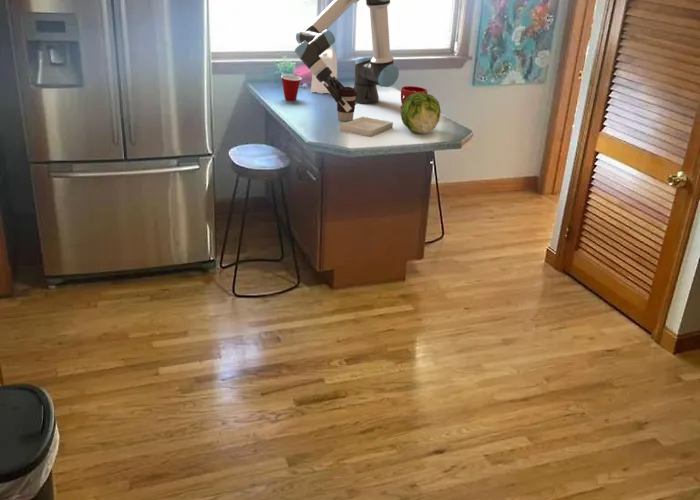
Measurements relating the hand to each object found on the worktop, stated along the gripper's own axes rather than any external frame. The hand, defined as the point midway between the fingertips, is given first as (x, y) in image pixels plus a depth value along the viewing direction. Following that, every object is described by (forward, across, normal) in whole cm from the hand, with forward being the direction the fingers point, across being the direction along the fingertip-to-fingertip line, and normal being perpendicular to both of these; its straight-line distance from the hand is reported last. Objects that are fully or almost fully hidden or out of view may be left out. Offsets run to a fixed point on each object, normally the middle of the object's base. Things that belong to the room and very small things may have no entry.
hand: (352, 107), depth 344 cm
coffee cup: (+2, 0, -6) cm, 7 cm away
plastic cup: (-24, -30, -32) cm, 50 cm away
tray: (+12, +14, +3) cm, 18 cm away
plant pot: (+22, -30, +13) cm, 39 cm away
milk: (-16, -58, -25) cm, 65 cm away
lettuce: (+29, +8, +20) cm, 36 cm away
